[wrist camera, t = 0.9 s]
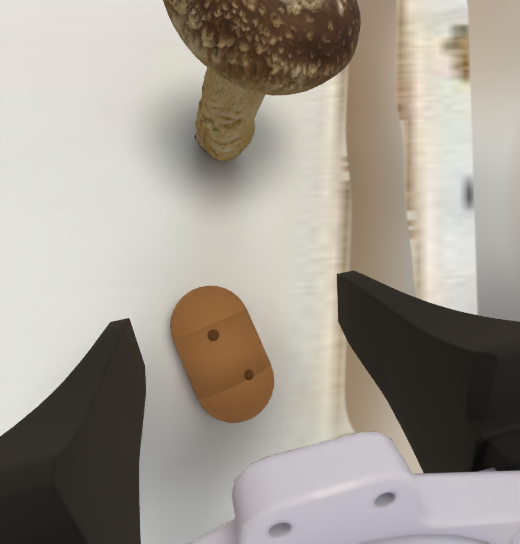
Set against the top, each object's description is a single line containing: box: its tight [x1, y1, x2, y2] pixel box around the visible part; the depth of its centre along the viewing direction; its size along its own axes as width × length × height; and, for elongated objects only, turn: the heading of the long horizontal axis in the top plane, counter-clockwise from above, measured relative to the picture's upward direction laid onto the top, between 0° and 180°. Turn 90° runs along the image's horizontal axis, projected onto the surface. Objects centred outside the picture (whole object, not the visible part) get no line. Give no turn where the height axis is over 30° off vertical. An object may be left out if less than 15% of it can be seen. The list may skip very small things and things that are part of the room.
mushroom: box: [163, 0, 361, 161], centre depth 24 cm, size 9×9×15 cm
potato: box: [170, 286, 274, 423], centre depth 25 cm, size 8×5×5 cm, turn 25°
